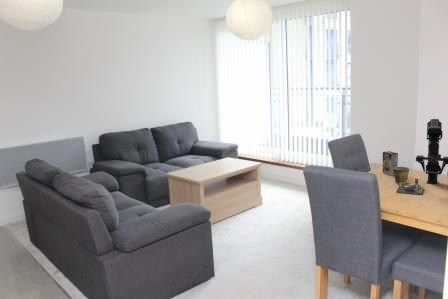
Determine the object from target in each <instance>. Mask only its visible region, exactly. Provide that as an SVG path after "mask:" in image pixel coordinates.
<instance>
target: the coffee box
mask: <svg viewBox="0 0 448 299" xmlns="http://www.w3.org/2000/svg"><path fill="white" fill-rule="evenodd" d="M398 159H399V153H398V152H394V151H389V150H387V151H382V174H385V175H388V176H394V171H393V168H394V167H399V166H398V164H399V160H398Z"/></svg>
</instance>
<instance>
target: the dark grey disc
mask: <svg viewBox="0 0 448 299" xmlns="http://www.w3.org/2000/svg"><path fill="white" fill-rule="evenodd" d="M418 184H419V178H417V177H416V178H414V183H408V184H403V186H404V188H407V189H415V188H416V187H417V185H418Z"/></svg>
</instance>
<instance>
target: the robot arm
mask: <svg viewBox="0 0 448 299" xmlns="http://www.w3.org/2000/svg"><path fill="white" fill-rule="evenodd" d="M442 124H443V123H442V122H441V121H440V119H439V118H431V119H430V121H428V122H427V123H426V140H427V141H428V145H427V146H428V147H427V148H428V150H427V156H424V155H420V154H419V155H416V157H415V162H418V164H420V166H421V168H422V170H423V172H424V173H425V175H427V181H426V184H432V185H433V184H434V185H438V184H439V180H438V177H439V175H442V174H443V171H444V169H445V167H446V166H447V165H448V156H446V155H445V156H443V157H442V154H440V141H441V140H442V139H443V130H442V128H443V126H442ZM425 161H427V162H426V164H425ZM440 162H442V165H440Z"/></svg>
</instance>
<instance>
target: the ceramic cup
mask: <svg viewBox="0 0 448 299" xmlns="http://www.w3.org/2000/svg"><path fill="white" fill-rule="evenodd" d="M393 171H394V175H393V176H394V182H395V183H396V184H399V185H400V183H403V185H406V184H407V181H408V177H409V173H410V168H409V167H407V166H398V167H394V168H393Z"/></svg>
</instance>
